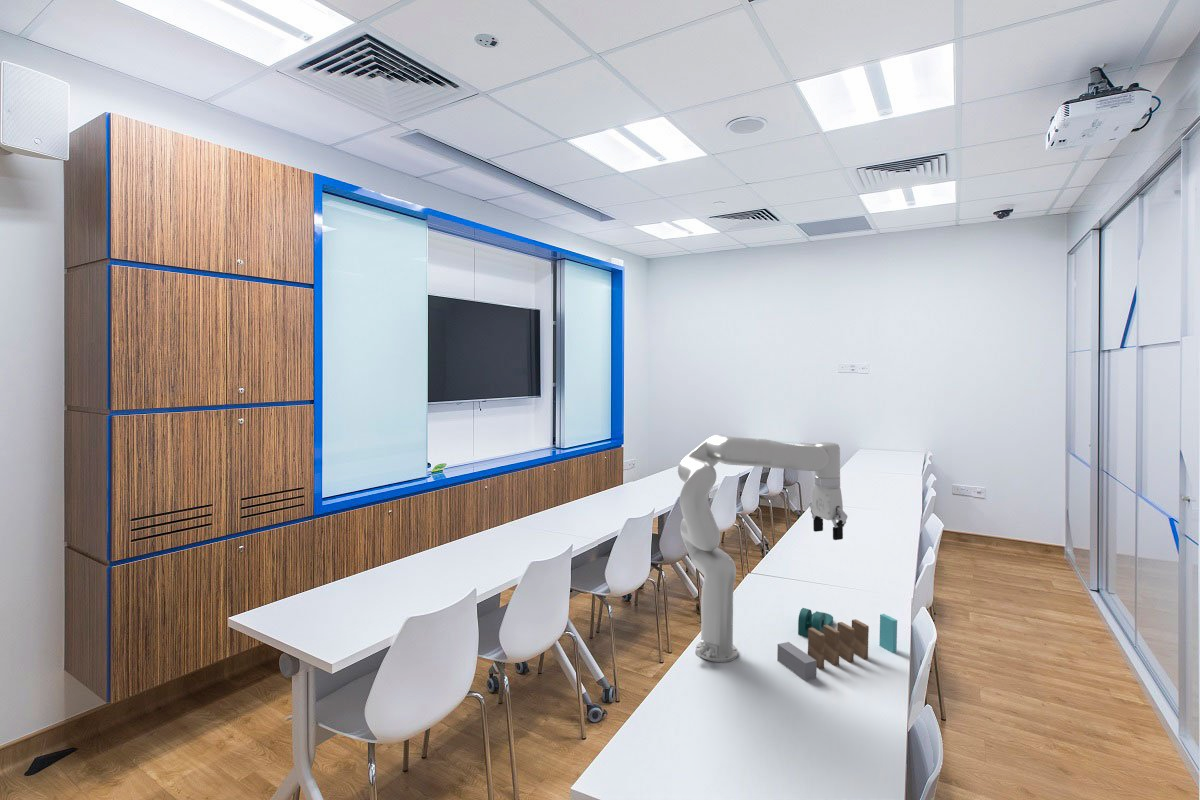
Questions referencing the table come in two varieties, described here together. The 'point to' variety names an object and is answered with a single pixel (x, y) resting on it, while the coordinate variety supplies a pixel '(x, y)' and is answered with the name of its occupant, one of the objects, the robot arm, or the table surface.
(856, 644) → the domino
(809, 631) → the domino
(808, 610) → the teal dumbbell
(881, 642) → the teal domino
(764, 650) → the table surface
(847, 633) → the domino
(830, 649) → the domino
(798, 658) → the block
